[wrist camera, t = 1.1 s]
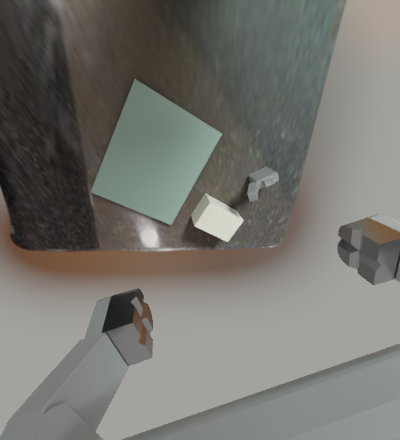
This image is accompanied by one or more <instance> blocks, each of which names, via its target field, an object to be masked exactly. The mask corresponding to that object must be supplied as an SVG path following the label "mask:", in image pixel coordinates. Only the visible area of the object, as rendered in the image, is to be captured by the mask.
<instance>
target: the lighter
mask: <svg viewBox="0 0 400 440" xmlns="http://www.w3.org/2000/svg"><path fill="white" fill-rule="evenodd" d="M248 177H249V181H250V182H251V183H249V187H248V193H247V194H248V198H249V201H250V202H253V201H257V200H258V192H259V189H261V188H263V187H268V186H270V185H272V184H274V183H275V182H277V181H279V177H278V173H277V172H275V171H273V170H271V169H270V168H268V167H265V168H262V169H260V170H258V171H256V172H254V173H251V174H249V175H248Z"/></svg>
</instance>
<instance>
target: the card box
mask: <svg viewBox="0 0 400 440" xmlns="http://www.w3.org/2000/svg"><path fill="white" fill-rule="evenodd" d="M191 217H192V220H193V224H194V226H195V227H197V228H199V229H201V230H203V231H205V232H207V233H209V234H212V235H214V236H216V237H218V238H220V239H222V240H224V241H226V242H228V241H229V240H230V238H231V237H232V236H233V234H234V233H235V232H236V230H237V229H238V228H239V226H240V225H241V224H242V222H243V221H244V220H243V219H242V218H241V216H240V215H239V214H238V212H237V211H236V210H234V209H233V208H231V207H229V206H227V205H225V204H224V203H222V202H220V201H218V200H216V199H215V198H213V197H211V196H209V195H207V194H206V193H205V194H204V196H203V197H202V199H201V200H200V202H199V203H198V205H197V207H196V208H195V210H194V211H193V213H192V214H191Z"/></svg>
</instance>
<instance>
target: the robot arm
mask: <svg viewBox="0 0 400 440" xmlns="http://www.w3.org/2000/svg"><path fill="white" fill-rule="evenodd" d="M338 235H339V237H340V238H341V240H340V242H339V243H338V254H339V256H340V258H341V259H342V261H343V262H344V263H345V264H347V265H348V266H349V267H353V268H356V269H357V270H358V274H359V275H361V276H362V277H363V278H364V279H366V280H367V281H368V282H370V283H371V284H372V285H376V284H380V283H383V282H386V281H390V280H393V279H396V280H397V281H399V282H400V222H398V221H396V220H393V219H391V218H388V217H386V216H384V215H380V214H376V215H373V216H370V217H367V218H365V219H362V220H359V221H356V222H353V223H349V224H346V225H343V226H341V227H340V229H339V233H338ZM143 299H144V295H143V294H142V292H141V290H140V289H135V290H131V291H127V292H124V293H120V294H117V295H113V296H110V297H107V298H103V299H100V300H99V301H98V302H97V303H96V306H95V309H94V312H93V315H92V318H91V321H90V324H89V327H88V330H87V333H86V336H85V339H83V340H80V341H79V342H78V343H77V344H76V346H75V347H74V348H73V349H72V350H71V351H70V352H69V353H68V354H67V356H66V357H65V358H64V359H63V360H62V361H61V362H60V363H59V364H58V366H57V367H56V368H55V369H54V370H53V371H52V372H51V373H50V375H49V376H48V377H47V378H46V379H45V380H44V381H43V382H42V383H41V385H40V386H39V387H38V388H37V389H36V390H35V391H34V392H33V393H32V395H31V396H30V397H29V398H28V399H27V400H26V401H25V403H24V404H23V405H22V406H21V407H20V408H19V409H18V410H17V411H16V413H15V414H14V415H13V416H12V417H11V418H10V419H9V421H8V423H7V425H6V427H5V429H4V431H3V433H2V435H1V437H0V440H103V439H102V438H101V437H100V436H99V435H98V434H97V433H96V432H95V431H96V429H97V427H98V425H99V424H100V422H101V420H102V418H103V416H104V414H105V412H106V410H107V408H108V406H109V404H110V402H111V400H112V399H113V397H114V395H115V393H116V391H117V389H118V387H119V385H120V383H121V381H122V379H123V377H124V376H125V374H126V372H127V370H128V366H130V365H133V364H136V363H139V362H141V361H144V360H147V359H150V358H152V344H153V343H152V342H153V340H152V338H151V336H150V333H151V331H152V330H153V320H152V314H151V311H150V308H149V306H148V304H147V303H145V302H143ZM122 440H400V344H397V345H394V346H391V347H388V348H385V349H383V350H380V351H377V352H374V353H371V354H368V355H365V356H362V357H359V358H357V359H354V360H351V361H348V362H345V363H342V364H339V365H336V366H333V367H330V368H328V369H325V370H322V371H319V372H316V373H313V374H310V375H307V376H304V377H301V378H299V379H296V380H293V381H290V382H287V383H284V384H281V385H278V386H275V387H273V388H270V389H267V390H264V391H261V392H258V393H255V394H252V395H249V396H247V397H244V398H241V399H238V400H235V401H232V402H230V403H227V404H224V405H221V406H218V407H215V408H212V409H209V410H206V411H203V412H201V413H197V414H195V415H192V416H189V417H186V418H183V419H180V420H177V421H174V422H171V423H168V424H166V425H163V426H160V427H157V428H154V429H151V430H148V431H146V432H142V433H139V434H137V435H134V436H131V437H128V438H125V439H122Z"/></svg>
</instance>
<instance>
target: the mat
mask: <svg viewBox="0 0 400 440" xmlns="http://www.w3.org/2000/svg"><path fill="white" fill-rule="evenodd" d="M221 135H222V133H220V132H219V131H217V130H216V129H214V128H212V127H211V126H209V125H208V124H206V123H204V122H203V121H201V120H200V119H198V118H197V117H195V116H193V115H192V114H190V113H189V112H187V111H185V110H184V109H182V108H181V107H179V106H177V105H176V104H174V103H173V102H171V101H170V100H168V99H166V98H165V97H163V96H162V95H160V94H158V93H157V92H155V91H154V90H152V89H150V88H149V87H147V86H146V85H144V84H143V83H141V82H139V81H138V80H136V79H134V82H133V84H132V87H131V90H130V92H129V95H128V97H127V100H126V102H125V105H124V108H123V110H122V113H121V115H120V118H119V120H118V123H117V126H116V128H115V131H114V133H113V136H112V138H111V141H110V144H109V146H108V149H107V151H106V154H105V156H104V159H103V161H102V164H101V167H100V169H99V172H98V174H97V177H96V179H95V182H94V185H93V187H92V190H91V193H94V194H96V195H99V196H101V197H103V198H106V199H108V200H111V201H113V202H116V203H118V204H120V205H123V206H125V207H128V208H130V209H133V210H135V211H138V212H140V213H142V214H145V215H147V216H150V217H152V218H155V219H157V220H160V221H162V222H164V223H167V224H169V225H172V223H173V221H174V219H175V218H176V216H177V214H178V212H179V210H180V209H181V207H182V205H183V203H184V201H185V200H186V198H187V196H188V194H189V193H190V191H191V189H192V187H193V185H194V184H195V182H196V180H197V178H198V176H199V175H200V173H201V171H202V169H203V167H204V166H205V164H206V162H207V160H208V159H209V157H210V155H211V153H212V151H213V150H214V148H215V146H216V144H217V142H218V141H219V139H220V137H221Z"/></svg>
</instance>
